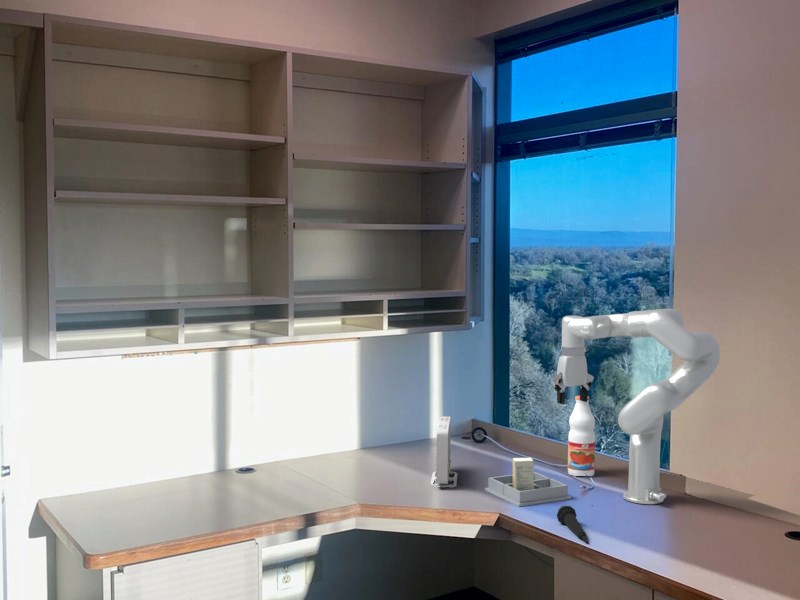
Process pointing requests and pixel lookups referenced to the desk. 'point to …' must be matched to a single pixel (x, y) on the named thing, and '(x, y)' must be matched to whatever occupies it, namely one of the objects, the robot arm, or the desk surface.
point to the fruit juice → (581, 440)
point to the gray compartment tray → (541, 493)
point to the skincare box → (523, 474)
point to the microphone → (571, 521)
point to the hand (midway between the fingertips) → (572, 402)
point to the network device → (443, 454)
